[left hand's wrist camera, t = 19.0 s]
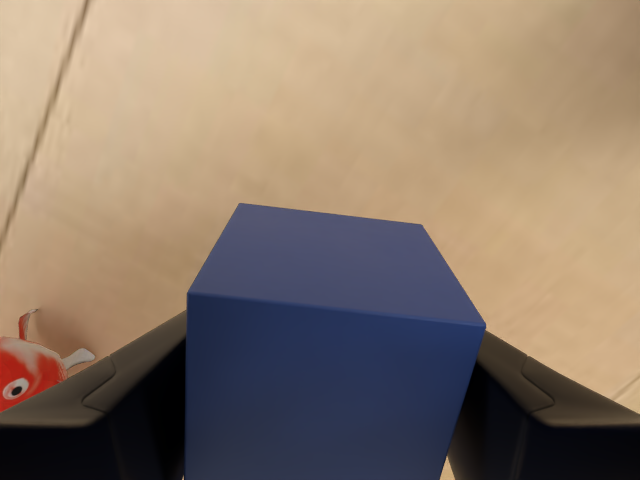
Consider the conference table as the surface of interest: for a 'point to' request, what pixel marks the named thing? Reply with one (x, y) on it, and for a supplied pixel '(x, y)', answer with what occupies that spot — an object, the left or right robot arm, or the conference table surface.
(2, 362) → the fish
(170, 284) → the conference table surface
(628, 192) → the conference table surface
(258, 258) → the cube
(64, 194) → the conference table surface
